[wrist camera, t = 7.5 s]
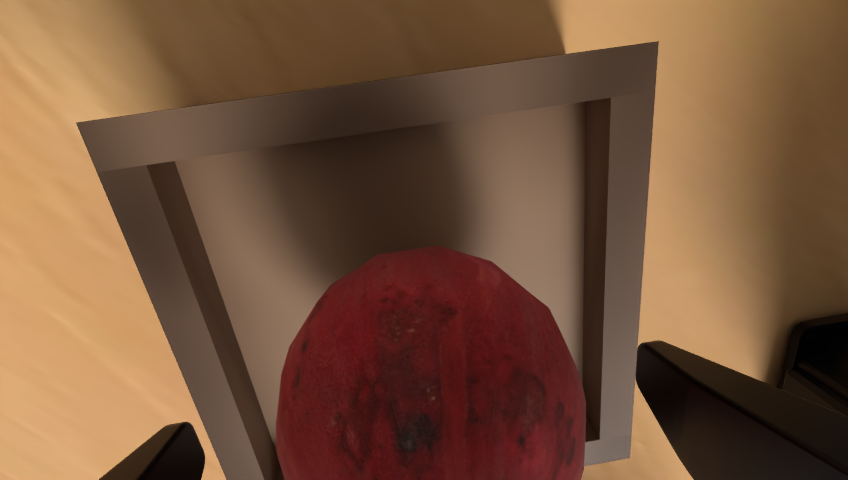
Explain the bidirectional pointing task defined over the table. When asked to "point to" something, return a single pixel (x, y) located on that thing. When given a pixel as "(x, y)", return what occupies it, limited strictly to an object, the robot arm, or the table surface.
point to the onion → (430, 378)
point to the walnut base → (388, 217)
